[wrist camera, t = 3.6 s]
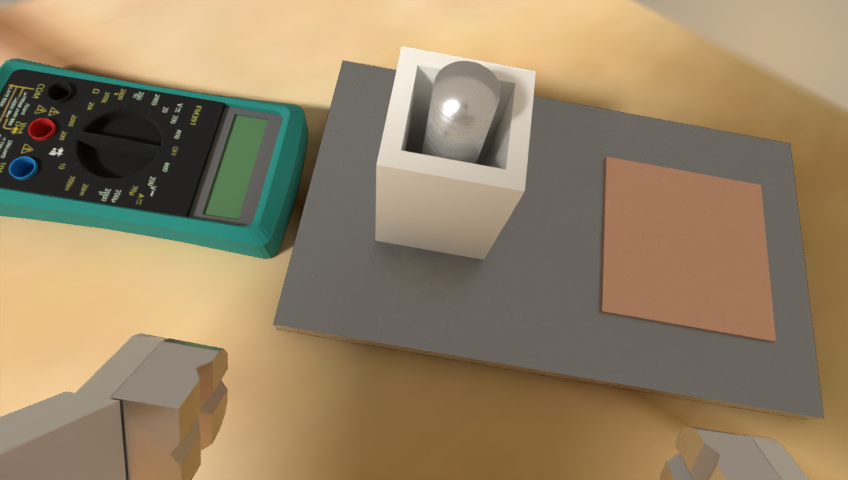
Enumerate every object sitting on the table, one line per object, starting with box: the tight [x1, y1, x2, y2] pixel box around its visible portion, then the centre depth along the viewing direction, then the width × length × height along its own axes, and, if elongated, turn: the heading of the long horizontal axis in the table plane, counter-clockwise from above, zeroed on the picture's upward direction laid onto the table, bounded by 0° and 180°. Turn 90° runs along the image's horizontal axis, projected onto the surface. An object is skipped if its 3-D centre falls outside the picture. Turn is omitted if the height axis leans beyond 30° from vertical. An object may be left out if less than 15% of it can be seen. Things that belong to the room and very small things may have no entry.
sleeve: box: [375, 46, 536, 260], centre depth 22 cm, size 5×5×7 cm
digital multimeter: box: [0, 58, 308, 259], centre depth 24 cm, size 7×15×3 cm, turn 82°
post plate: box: [273, 61, 824, 420], centre depth 22 cm, size 24×14×10 cm, turn 81°
